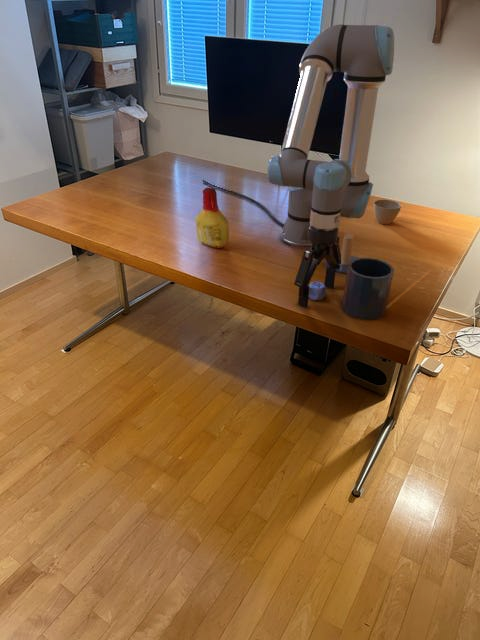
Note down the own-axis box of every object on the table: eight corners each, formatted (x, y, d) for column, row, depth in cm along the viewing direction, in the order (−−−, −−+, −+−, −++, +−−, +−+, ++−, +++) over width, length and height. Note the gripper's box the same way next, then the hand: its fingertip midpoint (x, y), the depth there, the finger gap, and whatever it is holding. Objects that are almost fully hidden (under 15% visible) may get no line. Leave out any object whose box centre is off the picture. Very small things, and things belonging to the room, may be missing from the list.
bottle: (192, 244, 165) (190, 187, 154) (203, 237, 170) (201, 181, 159) (222, 252, 160) (221, 193, 149) (232, 245, 165) (232, 188, 154)
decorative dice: (317, 302, 134) (319, 289, 132) (306, 297, 137) (307, 285, 134) (325, 296, 137) (327, 284, 135) (314, 292, 139) (315, 279, 137)
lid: (316, 266, 152) (319, 237, 146) (337, 253, 160) (341, 224, 154) (351, 280, 145) (356, 249, 139) (372, 265, 153) (377, 236, 147)
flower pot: (398, 228, 178) (402, 209, 174) (371, 225, 180) (374, 207, 176) (396, 218, 186) (400, 200, 182) (370, 216, 188) (373, 198, 184)
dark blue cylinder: (334, 308, 132) (339, 268, 125) (355, 292, 139) (362, 253, 132) (372, 324, 125) (380, 283, 118) (392, 307, 133) (401, 267, 126)
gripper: (309, 244, 115) (301, 319, 127) (360, 216, 130) (349, 285, 142) (284, 236, 119) (279, 308, 131) (337, 209, 134) (328, 276, 146)
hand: (316, 296), depth 137 cm, fingers open, 12 cm apart
